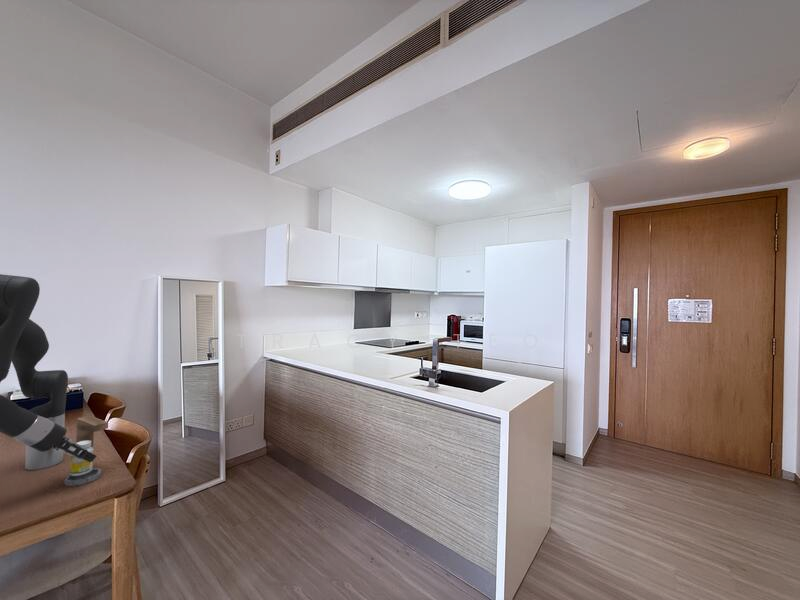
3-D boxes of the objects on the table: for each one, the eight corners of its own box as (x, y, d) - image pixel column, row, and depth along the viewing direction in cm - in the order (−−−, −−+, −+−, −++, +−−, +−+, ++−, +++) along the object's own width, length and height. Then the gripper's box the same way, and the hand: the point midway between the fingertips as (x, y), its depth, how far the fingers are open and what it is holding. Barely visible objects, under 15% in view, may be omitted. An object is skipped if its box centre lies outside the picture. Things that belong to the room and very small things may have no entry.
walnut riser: (92, 480, 107) (94, 425, 107) (75, 470, 113) (77, 418, 113) (106, 475, 110) (108, 422, 110) (88, 466, 116) (90, 415, 116)
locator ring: (69, 476, 109) (69, 472, 109) (102, 470, 113) (103, 465, 113) (61, 488, 102) (61, 484, 102) (97, 481, 106) (97, 476, 106)
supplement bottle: (84, 475, 105) (86, 445, 105) (65, 476, 104) (66, 446, 104) (96, 467, 110) (98, 439, 111) (78, 468, 109) (79, 439, 110)
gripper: (62, 425, 98) (110, 450, 108) (43, 417, 104) (90, 441, 115) (35, 450, 93) (88, 474, 103) (17, 439, 99) (69, 463, 110)
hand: (89, 456), depth 109 cm, fingers closed on supplement bottle, 5 cm apart
